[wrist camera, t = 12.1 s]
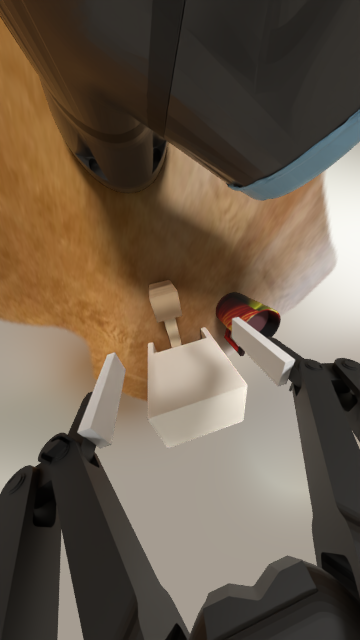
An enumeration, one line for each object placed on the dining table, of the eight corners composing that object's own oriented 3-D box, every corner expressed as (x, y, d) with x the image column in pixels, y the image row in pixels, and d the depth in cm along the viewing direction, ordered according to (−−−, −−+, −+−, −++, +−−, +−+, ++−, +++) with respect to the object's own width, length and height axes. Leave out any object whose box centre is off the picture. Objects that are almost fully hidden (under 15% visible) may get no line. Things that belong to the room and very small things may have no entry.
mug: (222, 336, 44) (245, 363, 33) (212, 301, 37) (236, 321, 26) (248, 323, 43) (280, 346, 33) (243, 286, 36) (280, 301, 26)
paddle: (149, 284, 31) (149, 298, 22) (169, 279, 31) (177, 290, 23) (172, 358, 43) (178, 384, 35) (186, 353, 44) (195, 379, 35)
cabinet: (148, 343, 39) (147, 419, 21) (205, 327, 40) (247, 385, 23) (161, 376, 46) (169, 450, 29) (209, 361, 48) (242, 423, 31)
